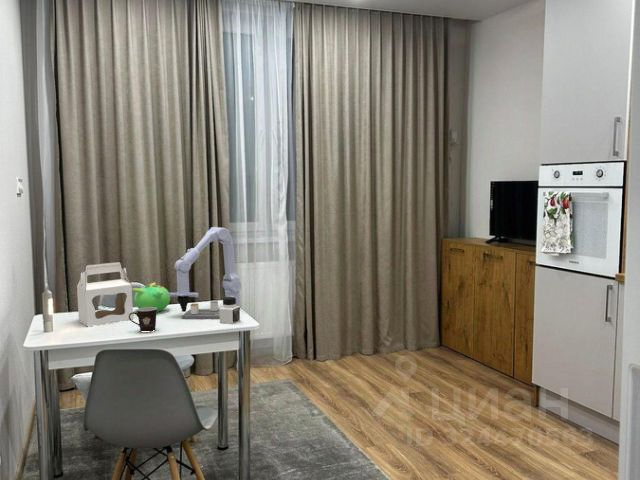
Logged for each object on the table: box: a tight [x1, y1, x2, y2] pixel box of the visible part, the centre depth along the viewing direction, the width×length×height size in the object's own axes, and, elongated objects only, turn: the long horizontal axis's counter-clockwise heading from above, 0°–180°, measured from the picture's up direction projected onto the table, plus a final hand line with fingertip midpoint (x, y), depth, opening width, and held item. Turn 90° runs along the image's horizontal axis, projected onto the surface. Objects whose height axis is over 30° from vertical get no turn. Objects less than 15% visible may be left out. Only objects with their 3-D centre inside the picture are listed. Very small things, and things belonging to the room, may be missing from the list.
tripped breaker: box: [190, 303, 200, 314], centre depth 287 cm, size 3×3×5 cm
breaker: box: [209, 300, 219, 311], centre depth 293 cm, size 3×3×5 cm
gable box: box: [76, 261, 134, 327], centre depth 281 cm, size 22×13×28 cm, turn 129°
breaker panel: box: [181, 308, 220, 320], centre depth 290 cm, size 15×19×2 cm
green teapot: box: [132, 282, 171, 313], centre depth 299 cm, size 18×17×15 cm
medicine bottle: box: [219, 296, 241, 325], centre depth 276 cm, size 7×7×12 cm
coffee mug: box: [129, 307, 158, 332], centre depth 262 cm, size 12×9×10 cm
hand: (184, 311), depth 287 cm, fingers closed
